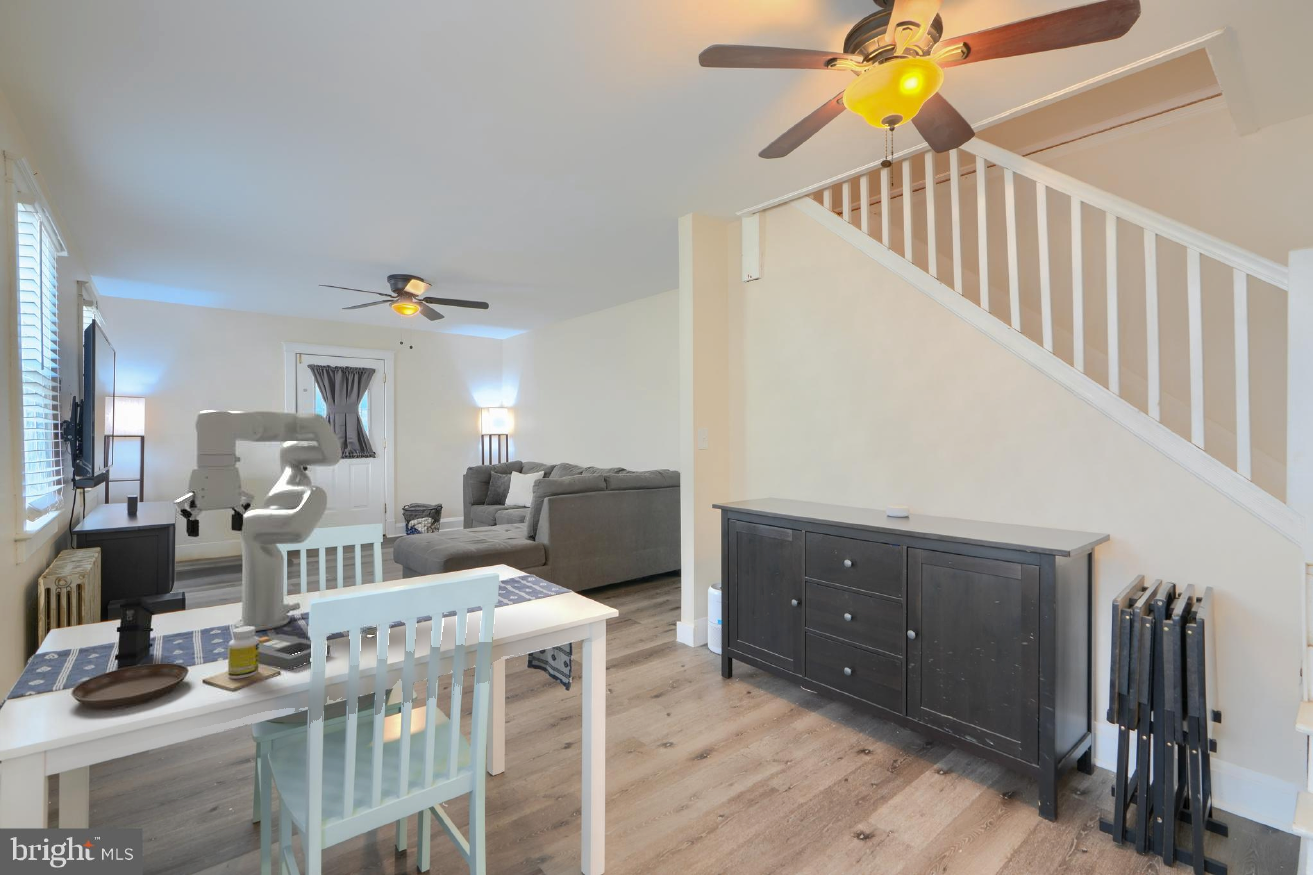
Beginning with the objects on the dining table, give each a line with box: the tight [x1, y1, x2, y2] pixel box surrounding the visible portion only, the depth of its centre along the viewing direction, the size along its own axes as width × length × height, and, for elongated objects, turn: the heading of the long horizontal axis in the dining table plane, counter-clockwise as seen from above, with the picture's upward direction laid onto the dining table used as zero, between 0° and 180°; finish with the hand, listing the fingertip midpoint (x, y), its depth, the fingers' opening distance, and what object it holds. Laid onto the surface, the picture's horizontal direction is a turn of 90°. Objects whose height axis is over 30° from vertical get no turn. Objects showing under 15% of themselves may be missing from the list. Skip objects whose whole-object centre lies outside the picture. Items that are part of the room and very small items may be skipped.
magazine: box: [114, 596, 156, 670], centre depth 137 cm, size 4×13×15 cm, turn 26°
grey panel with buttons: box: [258, 633, 331, 671], centre depth 141 cm, size 10×18×3 cm, turn 66°
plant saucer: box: [70, 662, 189, 710], centre depth 120 cm, size 18×18×3 cm
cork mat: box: [201, 664, 281, 692], centre depth 128 cm, size 10×10×1 cm
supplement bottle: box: [227, 626, 260, 679], centre depth 129 cm, size 5×5×10 cm
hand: (215, 533), depth 144 cm, fingers open, 9 cm apart
